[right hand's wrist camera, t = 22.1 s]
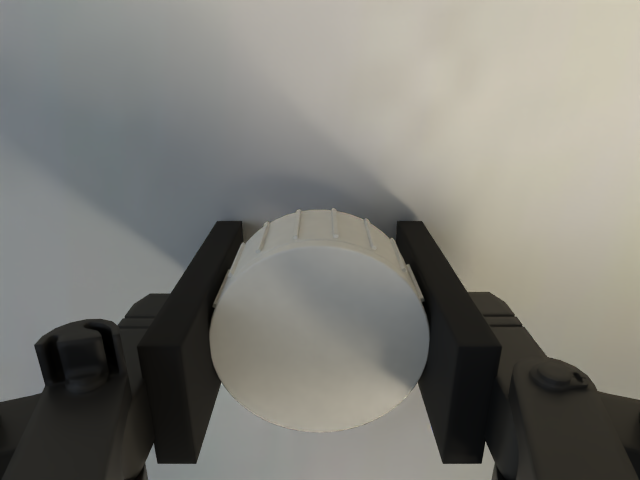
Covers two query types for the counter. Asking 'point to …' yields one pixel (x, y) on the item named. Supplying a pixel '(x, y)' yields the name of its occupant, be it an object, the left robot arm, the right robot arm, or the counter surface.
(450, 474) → the counter surface
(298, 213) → the lid
